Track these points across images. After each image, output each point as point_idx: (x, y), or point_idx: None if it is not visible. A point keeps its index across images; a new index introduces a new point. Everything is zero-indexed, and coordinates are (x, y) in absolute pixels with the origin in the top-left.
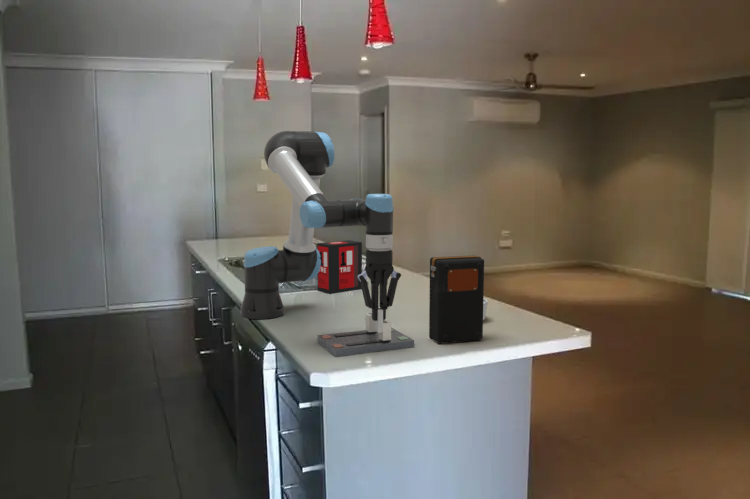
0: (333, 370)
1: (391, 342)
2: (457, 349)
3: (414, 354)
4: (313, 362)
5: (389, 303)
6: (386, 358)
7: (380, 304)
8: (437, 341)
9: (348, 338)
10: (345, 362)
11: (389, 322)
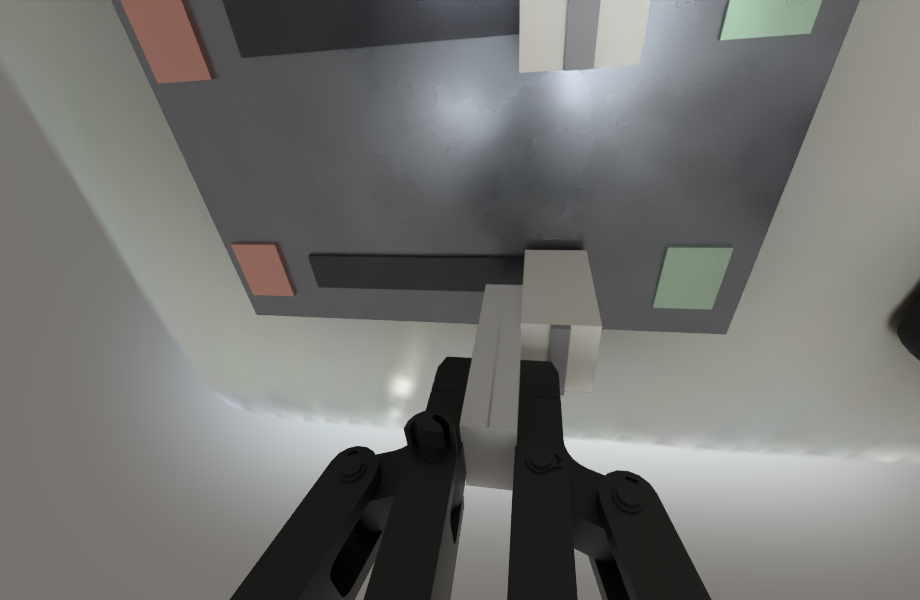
0: (273, 405)
1: None
2: (877, 414)
3: (623, 391)
4: (193, 319)
5: (600, 560)
6: None
7: (518, 487)
8: (901, 324)
9: (334, 136)
10: (315, 362)
11: (581, 384)
